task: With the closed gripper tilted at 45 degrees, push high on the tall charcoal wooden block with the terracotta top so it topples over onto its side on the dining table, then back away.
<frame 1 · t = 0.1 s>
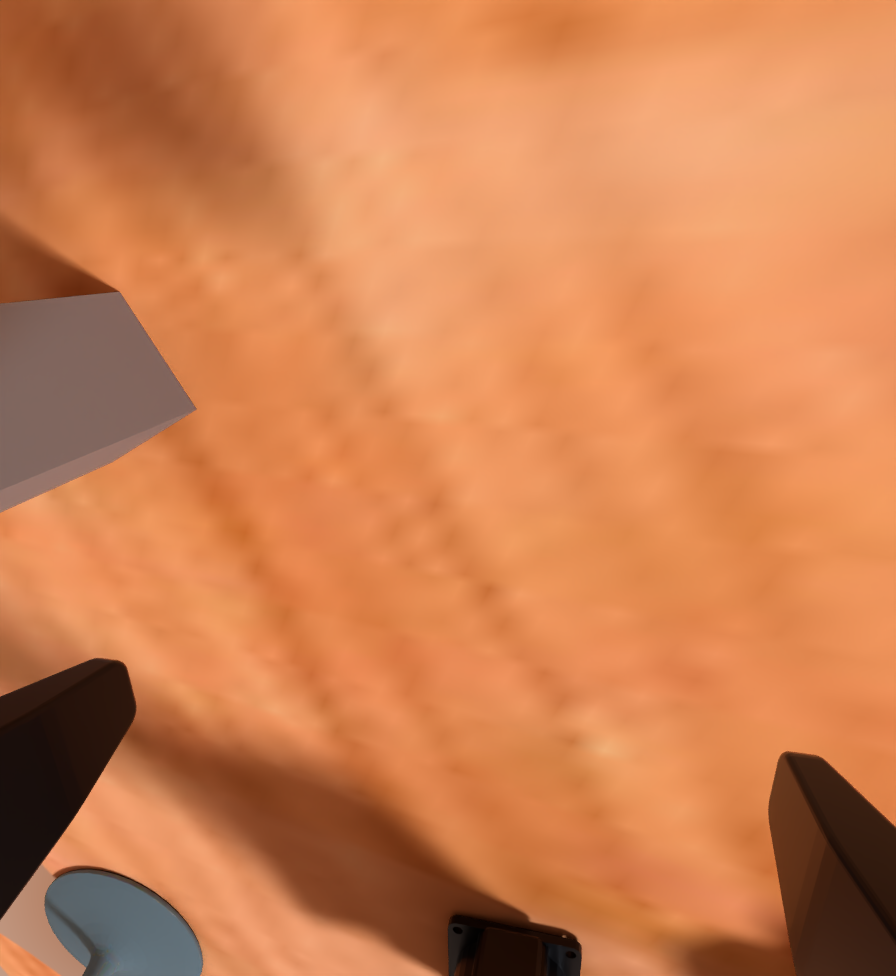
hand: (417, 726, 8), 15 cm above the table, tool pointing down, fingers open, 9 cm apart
charcoal block: (115, 381, 25), on the table
cocktail glass: (126, 929, 39), on the table
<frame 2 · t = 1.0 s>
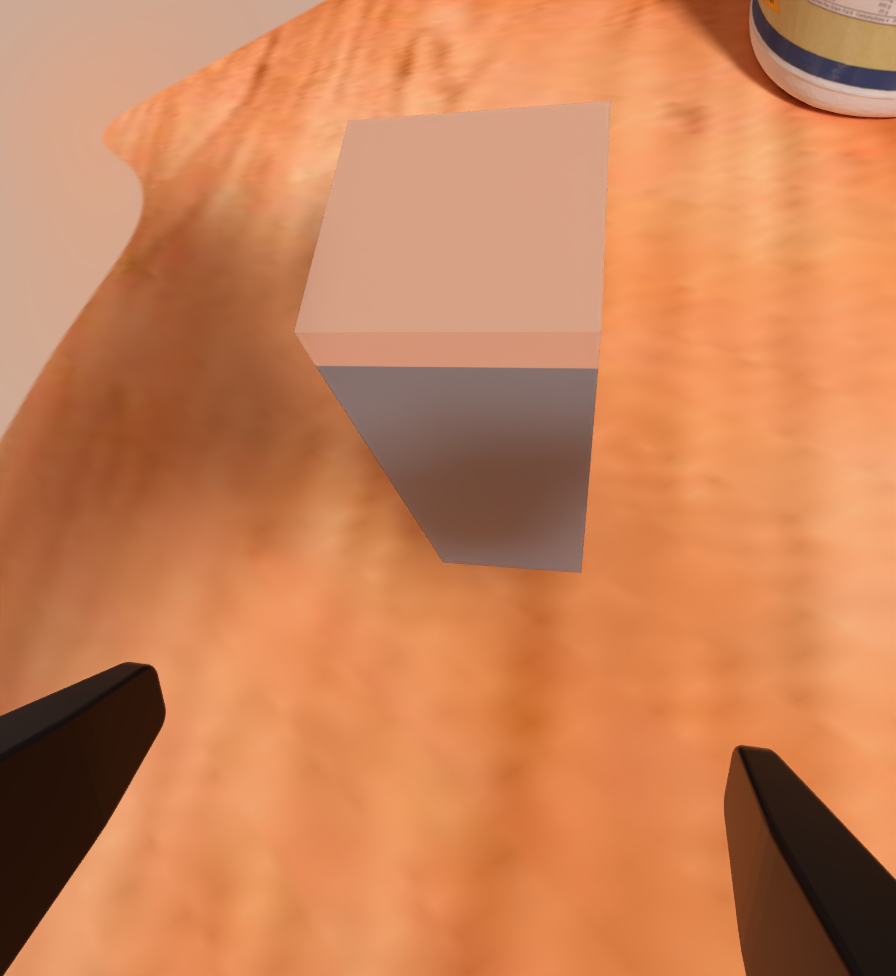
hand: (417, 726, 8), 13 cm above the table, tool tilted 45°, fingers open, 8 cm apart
charcoal block: (516, 503, 24), on the table
supplement tub: (878, 43, 30), on the table
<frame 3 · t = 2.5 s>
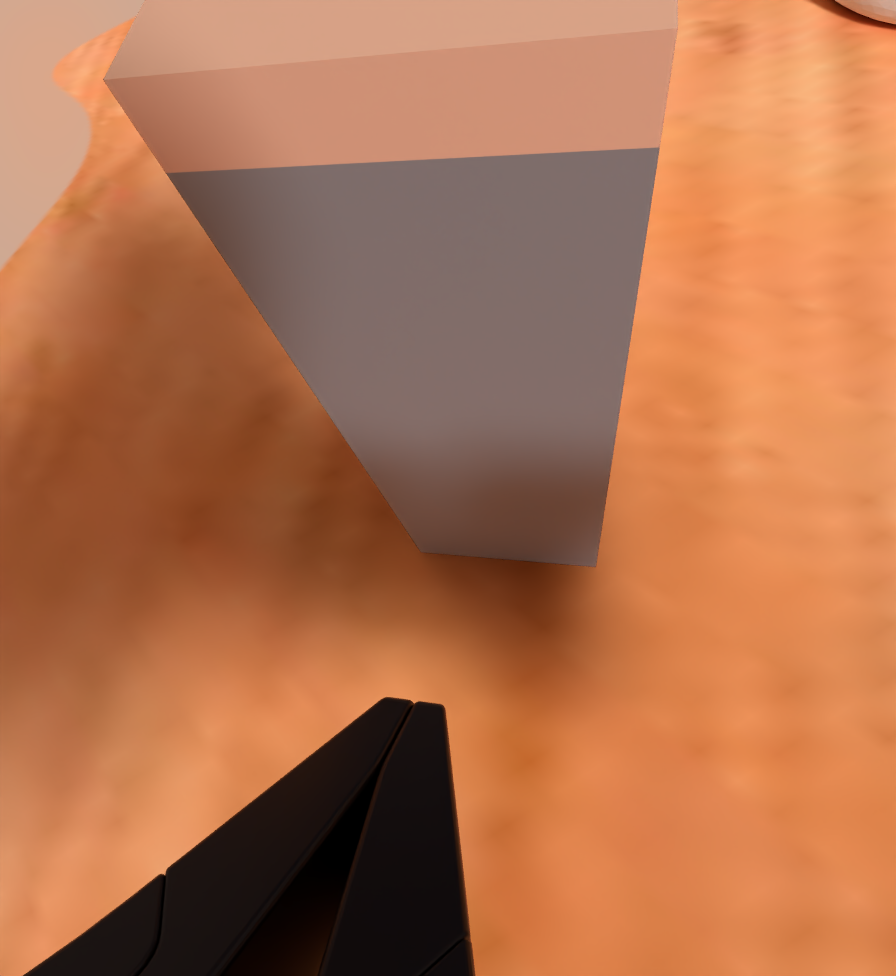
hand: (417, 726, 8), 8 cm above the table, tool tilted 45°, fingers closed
charcoal block: (514, 479, 19), on the table
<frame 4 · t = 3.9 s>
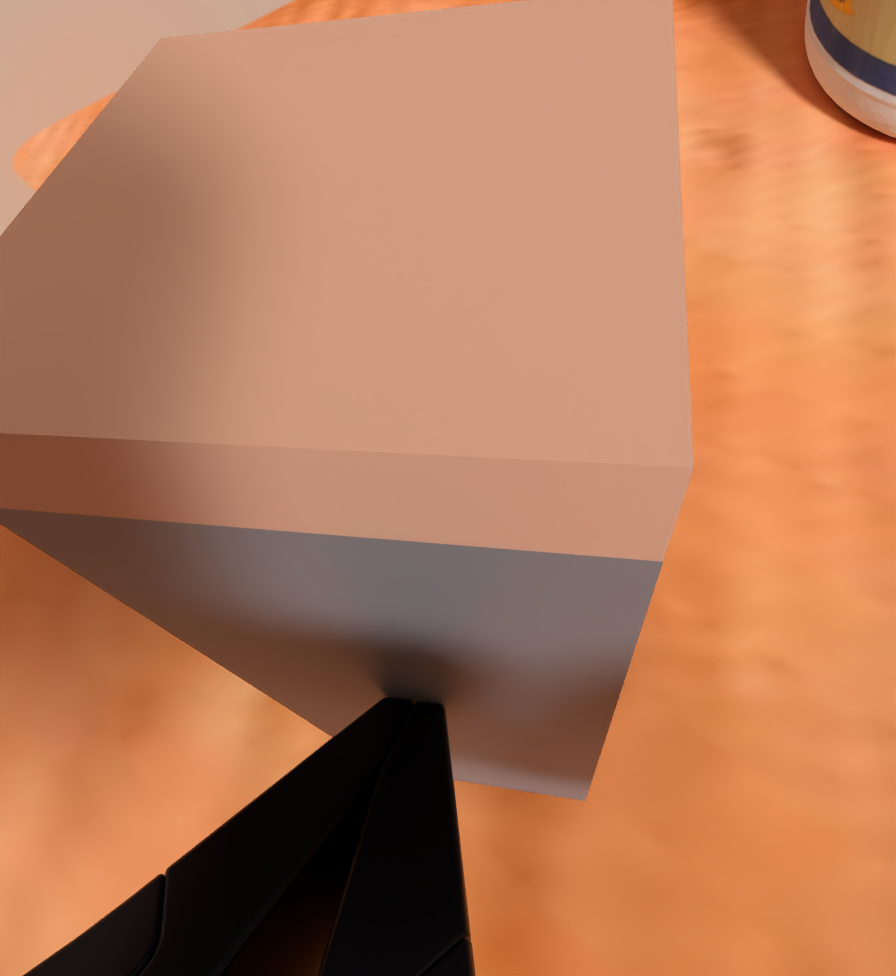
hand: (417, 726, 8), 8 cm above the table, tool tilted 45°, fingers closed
charcoal block: (492, 679, 16), on the table, tilted 8°
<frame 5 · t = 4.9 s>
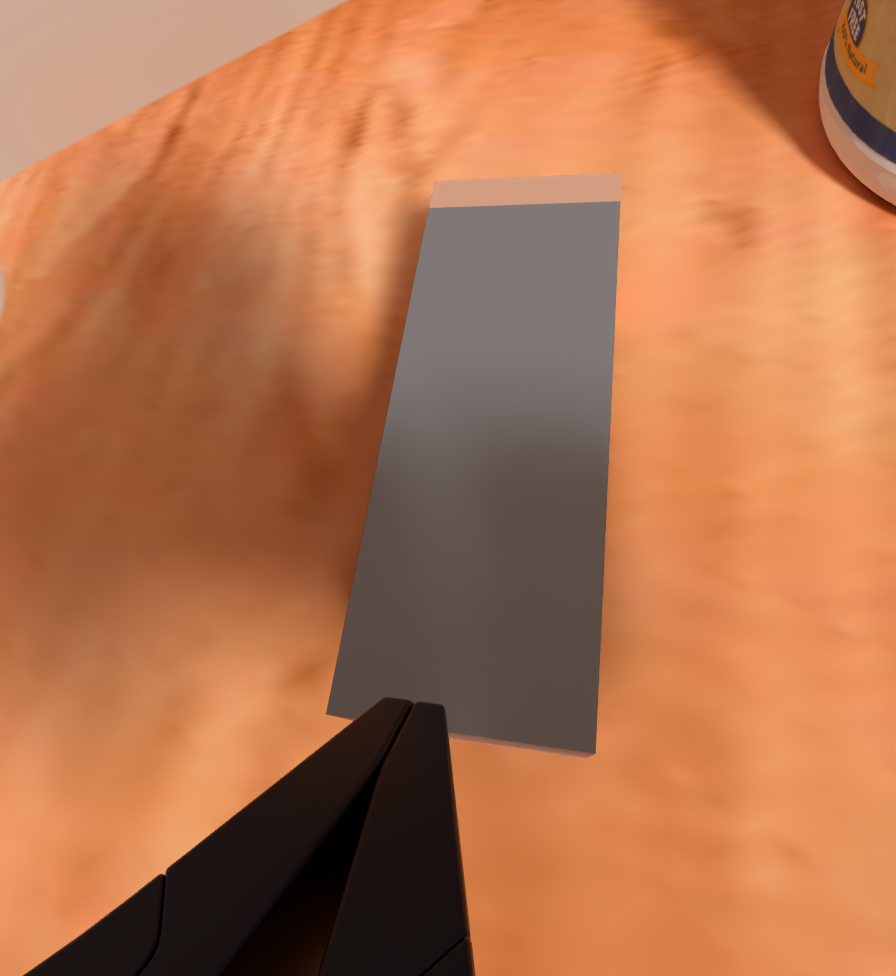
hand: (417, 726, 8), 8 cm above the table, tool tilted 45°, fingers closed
charcoal block: (472, 738, 14), point 2 cm above the table, tilted 90°
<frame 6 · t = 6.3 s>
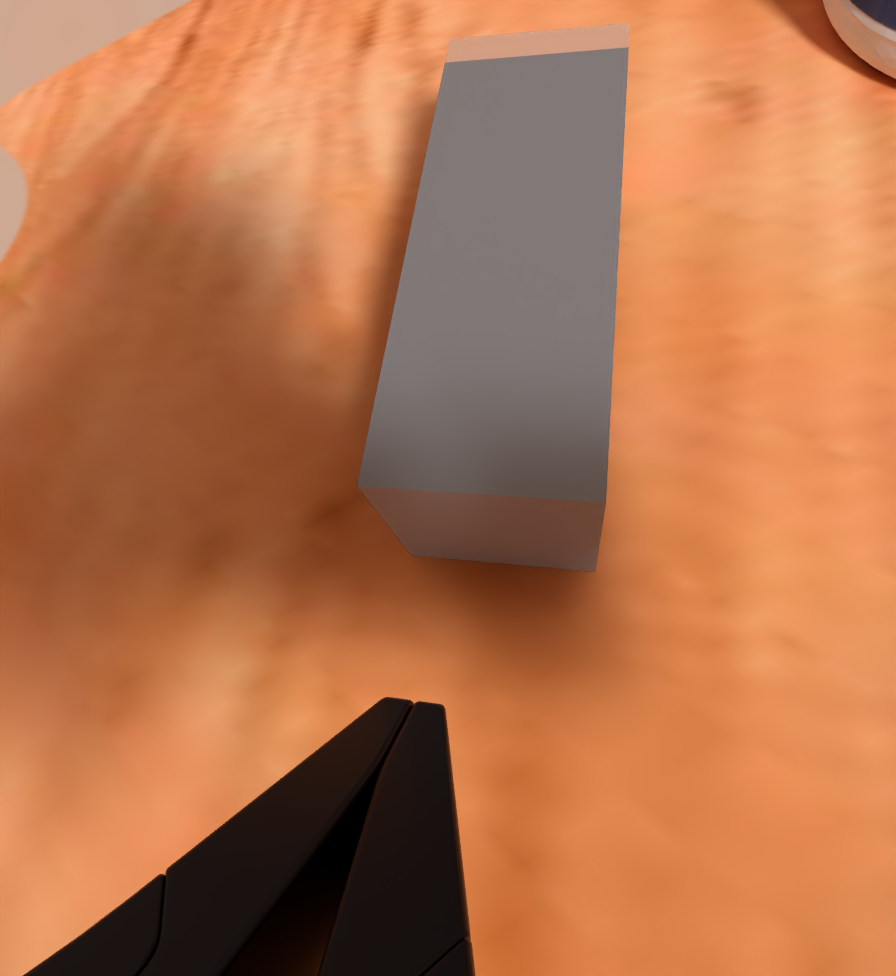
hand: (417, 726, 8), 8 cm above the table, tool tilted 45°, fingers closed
charcoal block: (489, 534, 15), point 2 cm above the table, tilted 90°
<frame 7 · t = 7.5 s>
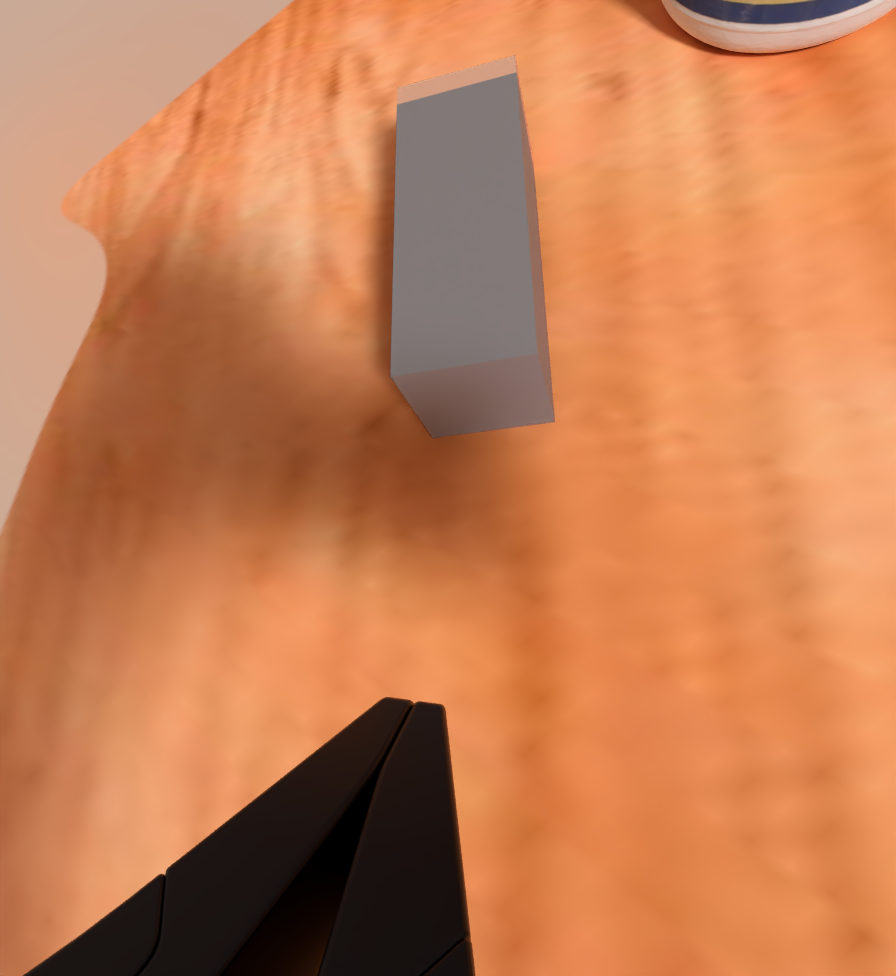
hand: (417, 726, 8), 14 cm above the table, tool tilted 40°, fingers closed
charcoal block: (478, 401, 23), point 2 cm above the table, tilted 90°
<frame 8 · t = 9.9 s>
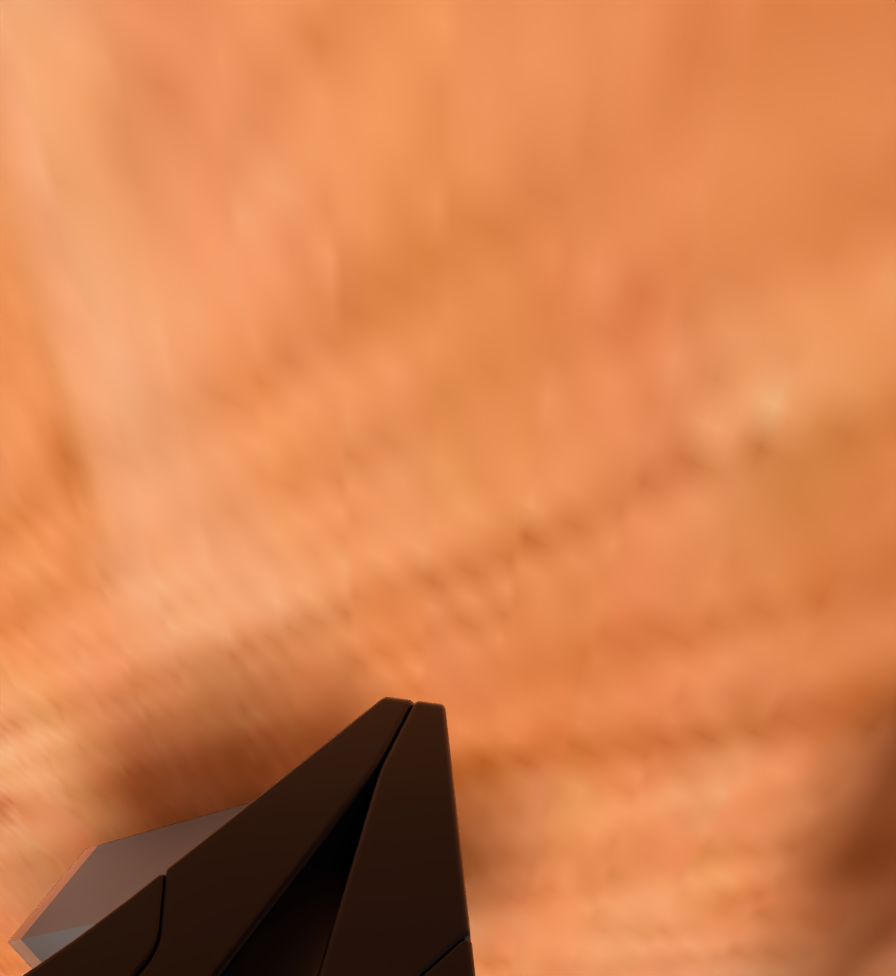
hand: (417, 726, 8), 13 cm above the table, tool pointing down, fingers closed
charcoal block: (284, 882, 27), point 2 cm above the table, tilted 90°
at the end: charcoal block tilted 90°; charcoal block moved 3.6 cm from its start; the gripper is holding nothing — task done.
